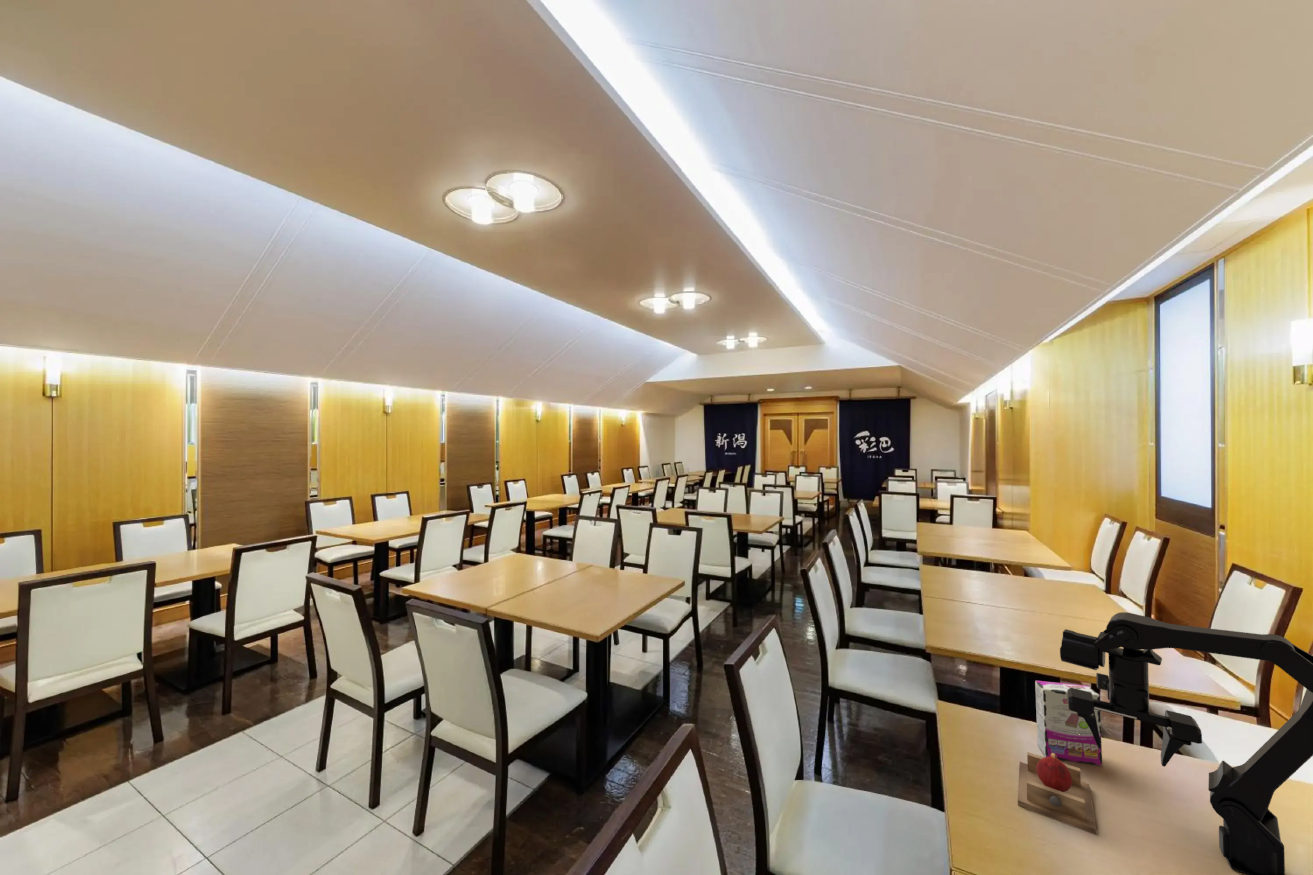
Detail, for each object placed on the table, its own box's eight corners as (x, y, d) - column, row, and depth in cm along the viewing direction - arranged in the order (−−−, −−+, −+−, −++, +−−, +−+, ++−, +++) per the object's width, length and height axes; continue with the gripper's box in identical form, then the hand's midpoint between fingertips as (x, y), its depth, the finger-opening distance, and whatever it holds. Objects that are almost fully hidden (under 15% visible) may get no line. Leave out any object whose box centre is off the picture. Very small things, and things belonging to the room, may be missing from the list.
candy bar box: (1090, 753, 114) (1089, 684, 115) (1103, 766, 110) (1101, 695, 110) (1035, 744, 118) (1034, 678, 118) (1045, 757, 113) (1044, 688, 113)
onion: (1078, 804, 97) (1078, 765, 97) (1046, 799, 98) (1046, 761, 98) (1061, 784, 103) (1061, 747, 103) (1030, 779, 104) (1030, 743, 104)
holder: (1089, 788, 103) (1088, 767, 103) (1096, 834, 91) (1095, 810, 91) (1019, 765, 110) (1019, 746, 110) (1017, 804, 99) (1017, 783, 99)
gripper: (1186, 676, 96) (1188, 753, 96) (1065, 651, 108) (1066, 720, 108) (1201, 699, 88) (1203, 784, 87) (1068, 670, 99) (1069, 745, 99)
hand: (1130, 755), depth 96 cm, fingers open, 9 cm apart
